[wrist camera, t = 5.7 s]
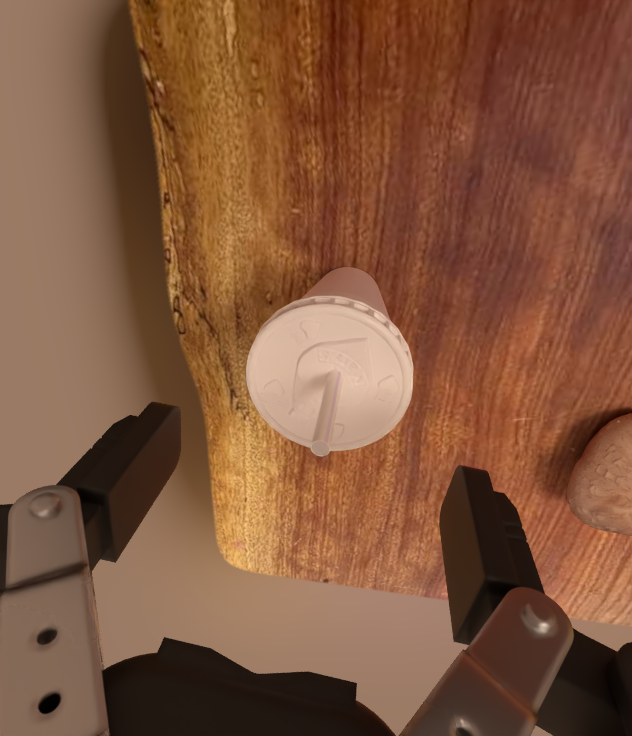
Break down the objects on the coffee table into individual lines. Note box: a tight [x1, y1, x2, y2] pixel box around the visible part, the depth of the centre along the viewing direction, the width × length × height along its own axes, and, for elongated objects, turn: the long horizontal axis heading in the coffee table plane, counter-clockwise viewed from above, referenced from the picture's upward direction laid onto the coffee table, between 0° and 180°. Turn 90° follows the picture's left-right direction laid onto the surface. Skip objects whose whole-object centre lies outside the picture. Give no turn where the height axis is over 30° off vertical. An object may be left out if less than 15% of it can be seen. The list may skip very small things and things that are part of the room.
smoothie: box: [246, 267, 413, 456], centre depth 19 cm, size 6×6×14 cm
